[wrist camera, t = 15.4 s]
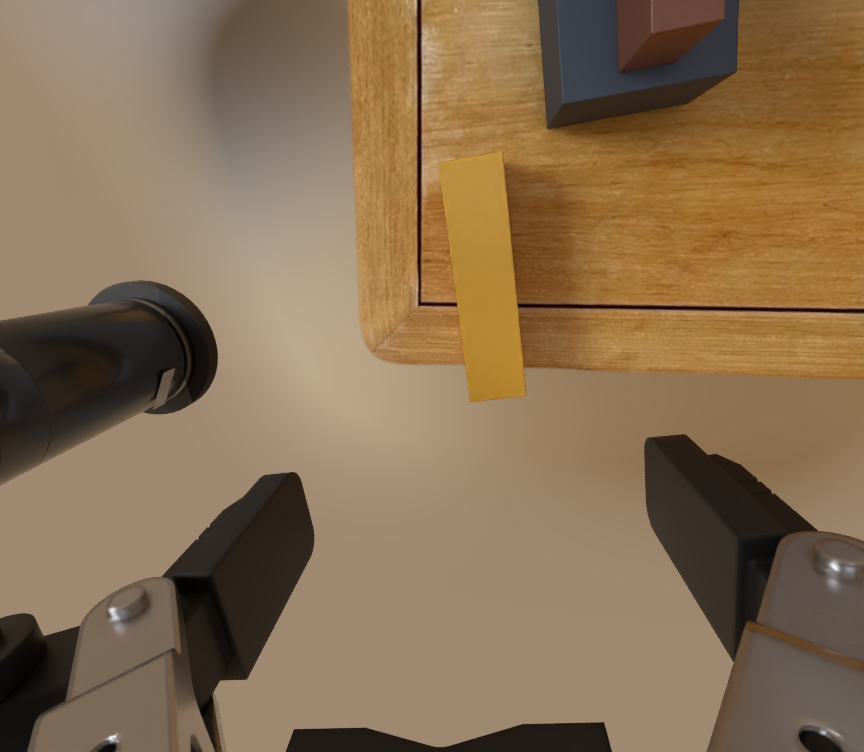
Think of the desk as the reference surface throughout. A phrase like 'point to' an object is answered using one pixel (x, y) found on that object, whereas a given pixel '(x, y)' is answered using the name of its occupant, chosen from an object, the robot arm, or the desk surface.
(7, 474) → the robot arm
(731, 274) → the desk surface
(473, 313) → the bar
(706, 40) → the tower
